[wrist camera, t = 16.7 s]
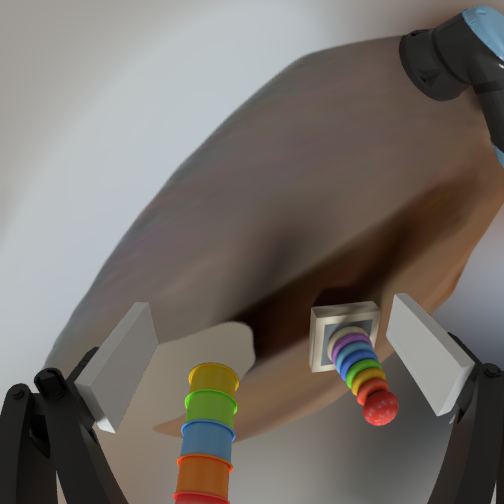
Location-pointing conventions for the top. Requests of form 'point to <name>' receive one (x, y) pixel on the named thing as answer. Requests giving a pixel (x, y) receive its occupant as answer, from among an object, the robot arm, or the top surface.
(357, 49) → the top surface
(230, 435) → the stacking cups
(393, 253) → the top surface
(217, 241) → the top surface
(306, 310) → the top surface
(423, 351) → the robot arm
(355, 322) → the plinth
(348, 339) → the stacking toy
